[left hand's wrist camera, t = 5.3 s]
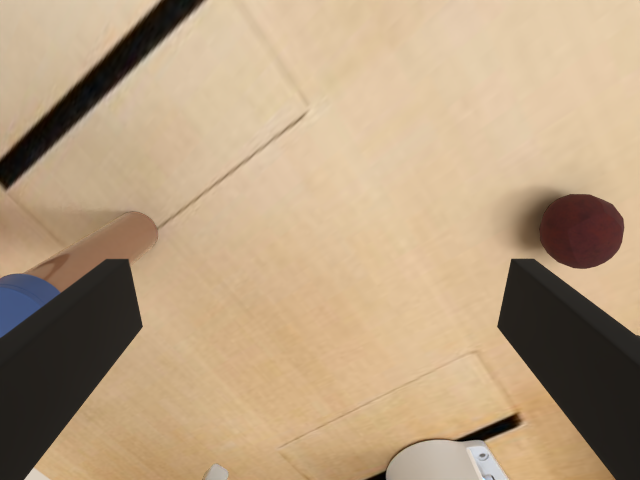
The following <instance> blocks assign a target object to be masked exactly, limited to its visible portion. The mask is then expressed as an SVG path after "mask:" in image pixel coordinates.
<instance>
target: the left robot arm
mask: <svg viewBox="0 0 640 480" xmlns="http://www.w3.org/2000/svg"><path fill="white" fill-rule="evenodd" d="M142 327H143V326H142V321H141V316H140V311H139V306H138V302H137V297H136V292H135V287H134V282H133V278H132V273H131V268H130V263H129V259H105V260H104V261H103V262H101V263H100V264H99V265H97V266H96V267H95V268H93V269H92V270H91V271H89V272H88V273H87V274H85V275H84V276H83V277H81V278H80V279H79V280H77V281H76V282H75V283H73V284H72V285H71V286H69V287H68V288H67V289H65V290H64V291H63V292H61V293H60V294H59V295H57V296H56V297H55V298H53V299H52V300H51V301H49V302H48V303H47V304H45V305H44V306H43V307H41V308H40V309H39V310H37V311H36V312H35V313H33V314H32V315H31V316H29V317H28V318H27V319H25V320H24V321H23V322H21V323H20V324H18V325H17V326H16V327H14V328H13V329H12V330H10V331H9V332H8V333H6V334H5V335H4V336H2V337H1V338H0V480H24V479H25V478H26V476H27V475H28V474H29V473H30V471H31V470H32V469H33V467H34V466H35V465H36V464H37V462H38V461H39V460H40V458H41V457H42V456H43V455H44V453H45V452H46V451H47V449H48V448H49V447H50V446H51V444H52V443H53V442H54V440H55V439H56V438H57V437H58V435H59V434H60V433H61V431H62V430H63V429H64V428H65V426H66V425H67V424H68V422H69V421H70V420H71V419H72V417H73V416H74V415H75V413H76V412H77V411H78V410H79V408H80V407H81V406H82V404H83V403H84V402H85V400H86V399H87V398H88V397H89V395H90V394H91V393H92V391H93V390H94V389H95V388H96V386H97V385H98V384H99V382H100V381H101V380H102V379H103V377H104V376H105V375H106V373H107V372H108V371H109V370H110V368H111V367H112V366H113V364H114V363H115V362H116V361H117V359H118V358H119V357H120V355H121V354H122V353H123V352H124V350H125V349H126V348H127V346H128V345H129V344H130V343H131V341H132V340H133V339H134V337H135V336H136V335H137V334H138V332H139V331H140V330H141V328H142ZM497 327H498V328H499V330H500V331H501V332H502V334H503V335H504V336H505V337H506V339H507V340H508V341H509V343H510V344H511V345H512V346H513V348H514V349H515V350H516V352H517V353H518V354H519V355H520V357H521V358H522V359H523V361H524V362H525V363H526V364H527V366H528V367H529V368H530V370H531V371H532V372H533V373H534V375H535V376H536V377H537V379H538V380H539V381H540V382H541V384H542V385H543V386H544V388H545V389H546V390H547V391H548V393H549V394H550V395H551V397H552V398H553V399H554V400H555V402H556V403H557V404H558V406H559V407H560V408H561V410H562V411H563V412H564V413H565V415H566V416H567V417H568V419H569V420H570V421H571V422H572V424H573V425H574V426H575V428H576V429H577V430H578V431H579V433H580V434H581V435H582V437H583V438H584V439H585V440H586V442H587V443H588V444H589V446H590V447H591V448H592V449H593V451H594V452H595V453H596V455H597V456H598V457H599V458H600V460H601V461H602V462H603V464H604V465H605V466H606V467H607V469H608V470H609V471H610V473H611V474H612V475H613V476H614V478H615V479H616V480H640V336H638V335H635V334H634V333H632V332H631V331H630V330H628V329H627V328H626V327H624V326H623V325H622V324H620V323H619V322H617V321H616V320H615V319H613V318H612V317H611V316H609V315H608V314H607V313H605V312H604V311H603V310H601V309H600V308H599V307H597V306H596V305H595V304H593V303H592V302H591V301H589V300H588V299H587V298H585V297H584V296H583V295H581V294H580V293H579V292H577V291H576V290H575V289H573V288H572V287H571V286H569V285H568V284H567V283H565V282H564V281H563V280H561V279H560V278H559V277H557V276H556V275H555V274H553V273H552V272H551V271H549V270H548V269H547V268H545V267H544V266H543V265H541V264H540V263H539V262H537V261H536V260H535V259H511V263H510V268H509V273H508V278H507V282H506V287H505V292H504V297H503V302H502V306H501V311H500V316H499V321H498V326H497Z"/></svg>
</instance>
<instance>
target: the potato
mask: <svg viewBox="0 0 640 480" xmlns="http://www.w3.org/2000/svg"><path fill="white" fill-rule="evenodd" d="M623 232H624V221H623V218H622V216H621V215H620V213H619V212H618V211H617V210H616V208H615V207H614V206H613V204H611V203H609V202H606V201H604V200H602V199H600V198H597V197H595V196H592V195H586V194H570V195H567V196H564V197H562V198H559V199H557V200H556V201H554V202H553V203H552V204H551V205H550V206H549V207H548V208H547V210H546V211H545V213H544V215H543V218H542V222H541V225H540V241H541V243H542V245H543V247H544V248H545V250H546V251H547V253H548V254H549V255H550V256H552V257H553V258H554V259H555V260H556V261H557V262H559V263H562V264H564V265H567V266H570V267H572V268H580V269H586V268H591V267H596V266H598V265H600V264H603V263H605V262H606V261H608V260H609V259H610V258H612V257H613V256H614V255H615V254H616V252H617V251H618V250H619V248H620V246H621V243H622V238H623Z"/></svg>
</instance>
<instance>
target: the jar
mask: <svg viewBox="0 0 640 480" xmlns="http://www.w3.org/2000/svg"><path fill="white" fill-rule="evenodd" d="M157 238H158V231H157V228H156V225H155V224H154V222H153V221H152V220H151V219H150V218H149V217H148V216H146V215H144V214H142V213H139V212H127V213H125V214H123V215H121V216H119V217H118V218H116V219H114V220H113V221H111V222H109V223H108V224H106V225H104V226H102V227H101V228H99V229H97V230H96V231H94V232H92V233H90V234H89V235H87V236H85V237H84V238H82V239H80V240H79V241H77V242H75V243H73V244H72V245H70V246H68V247H67V248H65V249H63V250H62V251H60V252H58V253H56V254H55V255H53V256H51V257H50V258H48V259H46V260H45V261H43V262H41V263H39V264H38V265H36V266H34V267H33V268H31V269H29V270H27V271H26V272H24V273H22V274H28V275H32V276H36V277H39V278H41V279H43V280H45V281H47V282H49V283H50V284H52V285H53V286H54V287H55V288H57V289H58V290H59V291H60V292H63V291H64V290H65V289H67V288H68V287H69V286H71V285H72V284H73V283H75V282H76V281H77V280H79V279H80V278H81V277H83V276H84V275H85V274H87V273H88V272H89V271H91V270H92V269H93V268H95V267H96V266H97V265H99V264H100V263H101V262H103V261H104V260H105V259H129V263H130V266H131V265H133V264H134V263H135V262H136V261H137V260H138V259H139V258H140V257H142V256H143V255H144V254H145V253H146V252H147V251H148V250H149V249H151V248H152V247H153V246H154V245H155V243H156V242H157Z"/></svg>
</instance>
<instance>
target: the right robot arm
mask: <svg viewBox="0 0 640 480" xmlns="http://www.w3.org/2000/svg"><path fill="white" fill-rule="evenodd" d="M227 478H228V471H227V469H225V468H223V467H222V466H220V465H218V464H213V465H212V466H211V467H210V468H209V469H208V470H207V471H206V472H205V474H204V476H203V479H202V480H227ZM386 480H510V479H509V478H508V476H507V475H506V473H505V472H504V470H503V469H502V467H501V466H500V464H499V463H498V461H497V460H496V458H495V457H494V455H493V454H492V453H491V451H490V450H489V448H488V447H487V445H486V444H485V442H483V441H481V440H471V441H464V442H457V441H450V440H429V441H424V442H420V443H417V444H414V445H412V446H409V447H407V448H406V449H404V450H402V451H401V452H400V453H398V454H397V455H396V456H395V457H394V458H393V460H392V461H391V462H390V464H389V466H388V468H387V472H386Z"/></svg>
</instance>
